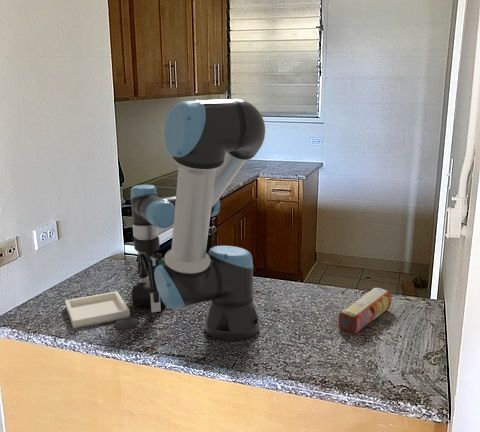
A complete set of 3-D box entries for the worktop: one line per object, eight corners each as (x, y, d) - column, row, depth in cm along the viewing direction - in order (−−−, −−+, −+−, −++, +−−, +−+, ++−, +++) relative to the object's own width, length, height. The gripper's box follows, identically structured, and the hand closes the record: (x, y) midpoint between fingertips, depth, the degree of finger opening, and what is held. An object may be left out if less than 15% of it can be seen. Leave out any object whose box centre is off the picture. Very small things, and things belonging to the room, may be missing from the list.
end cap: (132, 310, 159) (131, 289, 157) (136, 300, 166) (135, 280, 164) (165, 309, 159) (164, 288, 157) (168, 300, 166) (167, 280, 164)
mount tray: (129, 317, 154) (129, 310, 153) (73, 328, 147) (72, 321, 147) (117, 298, 168) (117, 291, 167) (65, 307, 161) (65, 300, 161)
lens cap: (140, 327, 148) (140, 324, 148) (117, 332, 146) (117, 329, 145) (134, 319, 154) (134, 315, 154) (112, 323, 151) (112, 320, 151)
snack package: (357, 337, 140) (358, 314, 138) (335, 330, 144) (336, 308, 143) (391, 311, 156) (393, 290, 154) (371, 305, 160) (372, 284, 158)
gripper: (170, 245, 148) (174, 316, 154) (147, 225, 169) (151, 289, 174) (144, 249, 145) (149, 321, 151) (124, 228, 166) (129, 293, 171)
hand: (150, 304), depth 162 cm, fingers open, 11 cm apart
